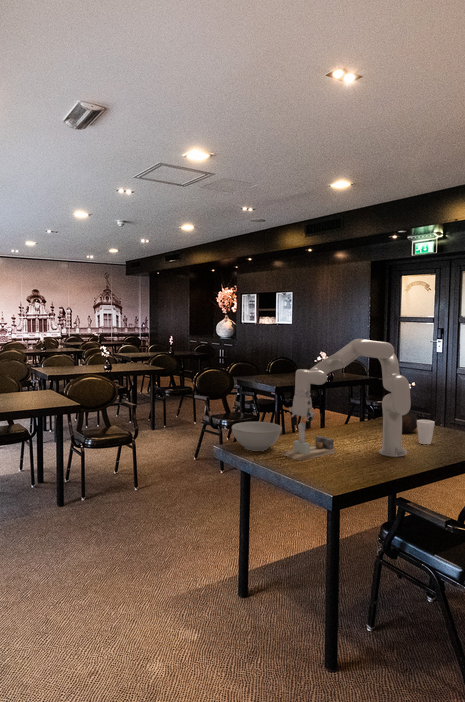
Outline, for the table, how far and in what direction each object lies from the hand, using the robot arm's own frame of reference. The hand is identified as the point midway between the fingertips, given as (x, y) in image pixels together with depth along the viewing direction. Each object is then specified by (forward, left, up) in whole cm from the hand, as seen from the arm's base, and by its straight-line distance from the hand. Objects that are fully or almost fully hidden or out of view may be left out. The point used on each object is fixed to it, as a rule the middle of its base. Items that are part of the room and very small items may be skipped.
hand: (301, 427), depth 252 cm
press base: (0, -6, -15) cm, 16 cm away
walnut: (0, -14, -13) cm, 19 cm away
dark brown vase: (+4, -93, -15) cm, 95 cm away
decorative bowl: (+24, +10, -15) cm, 30 cm away
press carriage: (0, 0, -13) cm, 13 cm away
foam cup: (-22, -76, -15) cm, 81 cm away
